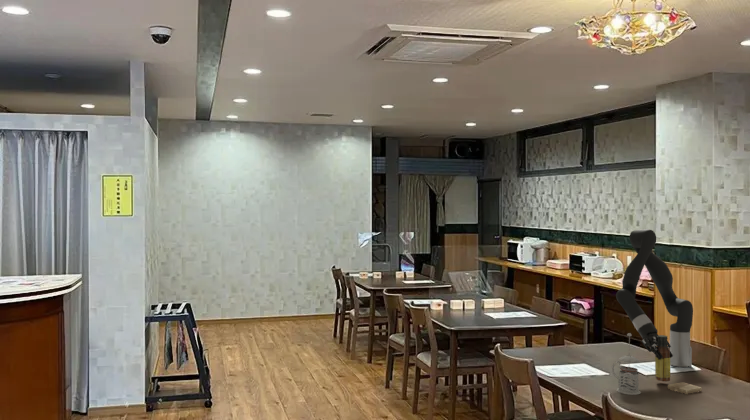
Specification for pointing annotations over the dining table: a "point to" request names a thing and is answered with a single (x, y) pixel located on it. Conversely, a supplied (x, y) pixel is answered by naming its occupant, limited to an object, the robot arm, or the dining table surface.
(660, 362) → the sauce bottle
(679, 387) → the tile
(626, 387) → the french press
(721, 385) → the dining table surface
